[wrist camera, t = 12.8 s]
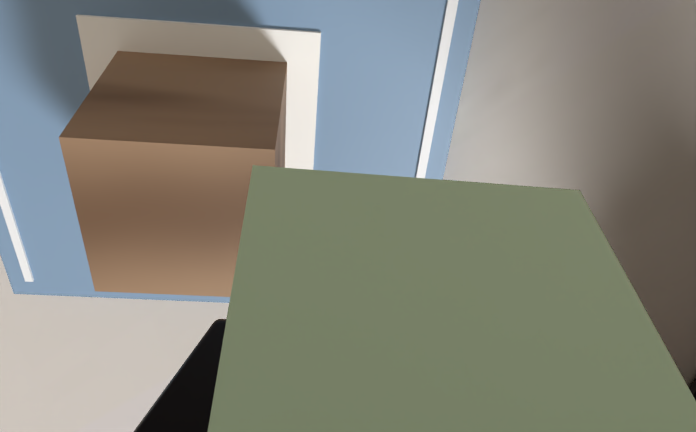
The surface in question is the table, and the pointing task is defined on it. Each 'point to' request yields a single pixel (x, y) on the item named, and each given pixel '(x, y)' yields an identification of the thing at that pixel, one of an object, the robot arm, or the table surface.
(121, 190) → the walnut block
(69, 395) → the table surface
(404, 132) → the board
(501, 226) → the green block
